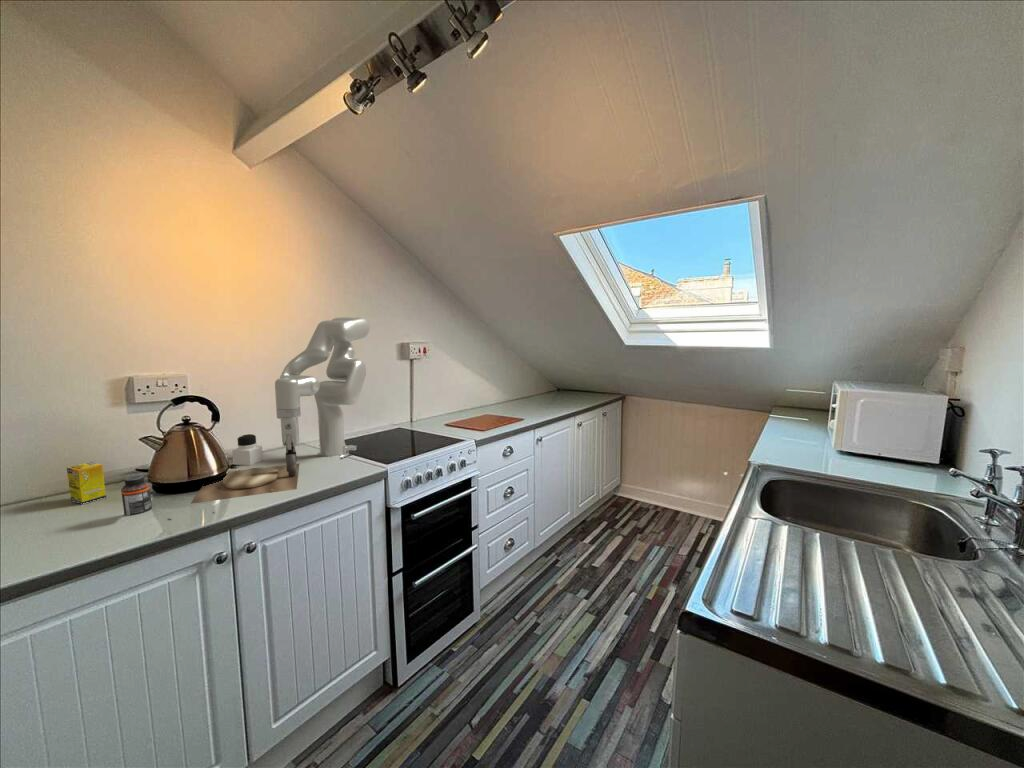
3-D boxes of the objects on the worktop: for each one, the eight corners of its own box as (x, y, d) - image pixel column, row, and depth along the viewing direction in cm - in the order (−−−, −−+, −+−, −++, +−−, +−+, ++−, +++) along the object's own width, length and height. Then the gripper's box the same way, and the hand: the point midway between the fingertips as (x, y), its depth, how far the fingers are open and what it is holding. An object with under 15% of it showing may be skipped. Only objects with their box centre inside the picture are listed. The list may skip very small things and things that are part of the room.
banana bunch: (218, 491, 132) (216, 469, 131) (228, 475, 146) (226, 455, 145) (295, 481, 141) (294, 461, 140) (297, 467, 155) (296, 448, 154)
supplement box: (70, 502, 128) (65, 467, 126) (95, 494, 133) (91, 461, 132) (82, 505, 126) (77, 469, 124) (106, 497, 131) (102, 463, 130)
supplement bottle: (130, 513, 121) (125, 475, 119) (155, 509, 123) (151, 472, 121) (120, 521, 115) (115, 482, 114) (147, 518, 117) (143, 479, 116)
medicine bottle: (263, 463, 166) (261, 433, 164) (250, 469, 159) (248, 438, 157) (246, 462, 166) (244, 432, 165) (233, 468, 159) (230, 437, 158)
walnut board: (299, 467, 161) (299, 463, 161) (296, 493, 136) (296, 488, 136) (211, 477, 149) (211, 473, 149) (190, 508, 124) (190, 503, 124)
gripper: (299, 416, 144) (302, 467, 146) (301, 408, 157) (303, 456, 160) (274, 417, 141) (277, 470, 143) (278, 409, 154) (281, 458, 156)
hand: (291, 462), depth 151 cm, fingers closed
